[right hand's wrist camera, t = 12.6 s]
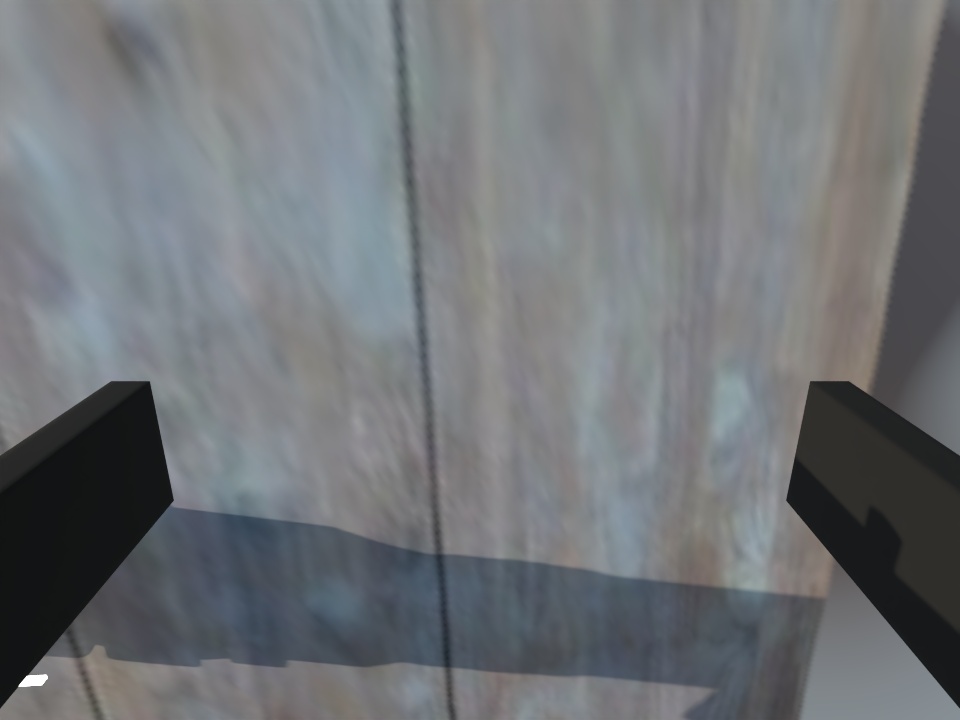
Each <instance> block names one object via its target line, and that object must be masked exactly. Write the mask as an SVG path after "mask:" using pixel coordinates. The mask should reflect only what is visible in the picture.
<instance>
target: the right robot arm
mask: <svg viewBox="0 0 960 720" xmlns="http://www.w3.org/2000/svg"><path fill="white" fill-rule="evenodd" d="M173 501H174V499H173V494H172V489H171V484H170V479H169V474H168V469H167V464H166V459H165V455H164V450H163V445H162V440H161V435H160V430H159V425H158V420H157V415H156V410H155V405H154V400H153V395H152V390H151V385H150V381H111V382H109V383H108V384H107V385H105V386H104V387H102V388H101V389H99V390H98V391H96V392H95V393H93V394H92V395H90V396H89V397H87V398H86V399H84V400H83V401H81V402H80V403H78V404H77V405H75V406H74V407H72V408H71V409H69V410H68V411H66V412H65V413H63V414H62V415H60V416H59V417H57V418H56V419H54V420H53V421H51V422H50V423H48V424H47V425H45V426H44V427H42V428H41V429H39V430H38V431H37V432H35V433H34V434H32V435H31V436H29V437H28V438H26V439H25V440H23V441H22V442H20V443H19V444H17V445H16V446H14V447H13V448H11V449H10V450H8V451H7V452H5V453H4V454H2V455H1V456H0V708H1V707H2V706H3V704H4V703H5V702H6V701H7V700H8V698H9V697H10V696H11V695H12V694H13V692H14V691H15V690H16V689H17V688H18V686H19V685H20V684H21V683H22V682H23V680H24V679H25V678H26V677H27V676H28V674H29V673H30V672H31V671H32V670H33V668H34V667H35V666H36V665H37V664H38V662H39V661H40V660H41V659H42V658H43V657H44V655H45V654H46V653H47V652H48V651H49V649H50V648H51V647H52V646H53V645H54V643H55V642H56V641H57V640H58V639H59V637H60V636H61V635H62V634H63V633H64V631H65V630H66V629H67V628H68V627H69V625H70V624H71V623H72V622H73V621H74V619H75V618H76V617H77V616H78V615H79V613H80V612H81V611H82V610H83V609H84V607H85V606H86V605H87V604H88V603H89V601H90V600H91V599H92V598H93V597H94V595H95V594H96V593H97V592H98V591H99V589H100V588H101V587H102V586H103V585H104V583H105V582H106V581H107V580H108V579H109V577H110V576H111V575H112V574H113V573H114V571H115V570H116V569H117V568H118V567H119V565H120V564H121V563H122V562H123V561H124V559H125V558H126V557H127V556H128V555H129V554H130V552H131V551H132V550H133V549H134V548H135V546H136V545H137V544H138V543H139V542H140V540H141V539H142V538H143V537H144V536H145V534H146V533H147V532H148V531H149V530H150V528H151V527H152V526H153V525H154V524H155V522H156V521H157V520H158V519H159V518H160V516H161V515H162V514H163V513H164V512H165V510H166V509H167V508H168V507H169V506H170V504H171V503H172V502H173ZM786 501H787V502H788V503H789V504H790V506H791V507H792V508H793V509H794V510H795V512H796V513H797V514H798V515H799V516H800V518H801V519H802V520H803V521H804V522H805V524H806V525H807V526H808V527H809V528H810V530H811V531H812V532H813V533H814V534H815V536H816V537H817V538H818V539H819V540H820V542H821V543H822V544H823V545H824V546H825V548H826V549H827V550H828V551H829V552H830V554H831V555H832V556H833V557H834V558H835V559H836V561H837V562H838V563H839V564H840V565H841V567H842V568H843V569H844V570H845V571H846V573H847V574H848V575H849V576H850V577H851V579H852V580H853V581H854V582H855V583H856V585H857V586H858V587H859V588H860V589H861V591H862V592H863V593H864V594H865V595H866V597H867V598H868V599H869V600H870V601H871V603H872V604H873V605H874V606H875V607H876V609H877V610H878V611H879V612H880V613H881V615H882V616H883V617H884V618H885V619H886V621H887V622H888V623H889V624H890V625H891V627H892V628H893V629H894V630H895V631H896V632H897V634H898V635H899V636H900V637H901V639H902V640H903V641H904V642H905V643H906V645H907V646H908V647H909V648H910V649H911V651H912V652H913V653H914V654H915V655H916V656H917V658H918V659H919V660H920V661H921V662H922V664H923V665H924V666H925V667H926V668H927V670H928V671H929V672H930V673H931V674H932V676H933V677H934V678H935V679H936V680H937V682H938V683H939V684H940V685H941V686H942V688H943V689H944V690H945V691H946V692H947V694H948V695H949V696H950V697H951V698H952V700H953V701H954V702H955V703H956V704H957V706H958V707H959V708H960V456H959V455H958V454H956V453H955V452H953V451H952V450H950V449H949V448H947V447H946V446H944V445H943V444H941V443H940V442H938V441H937V440H935V439H934V438H932V437H931V436H929V435H928V434H926V433H925V432H923V431H922V430H921V429H919V428H918V427H916V426H915V425H913V424H912V423H910V422H909V421H907V420H906V419H904V418H903V417H901V416H900V415H898V414H897V413H895V412H894V411H892V410H891V409H889V408H888V407H886V406H885V405H883V404H882V403H880V402H879V401H877V400H876V399H874V398H873V397H871V396H870V395H868V394H867V393H865V392H864V391H862V390H861V389H859V388H858V387H856V386H855V385H853V384H852V383H851V382H849V381H810V385H809V390H808V395H807V400H806V405H805V410H804V415H803V420H802V425H801V430H800V435H799V440H798V445H797V450H796V455H795V459H794V464H793V469H792V474H791V479H790V484H789V489H788V494H787V499H786Z"/></svg>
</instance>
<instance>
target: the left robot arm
mask: <svg viewBox="0 0 960 720" xmlns="http://www.w3.org/2000/svg"><path fill="white" fill-rule="evenodd" d="M46 679H47V675H37V676H27V677H26V678H25V679H24V680H23V682H22V683H21V684H20V685H19V686H34V685H42V684H43V683H44V682H45V680H46Z"/></svg>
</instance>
